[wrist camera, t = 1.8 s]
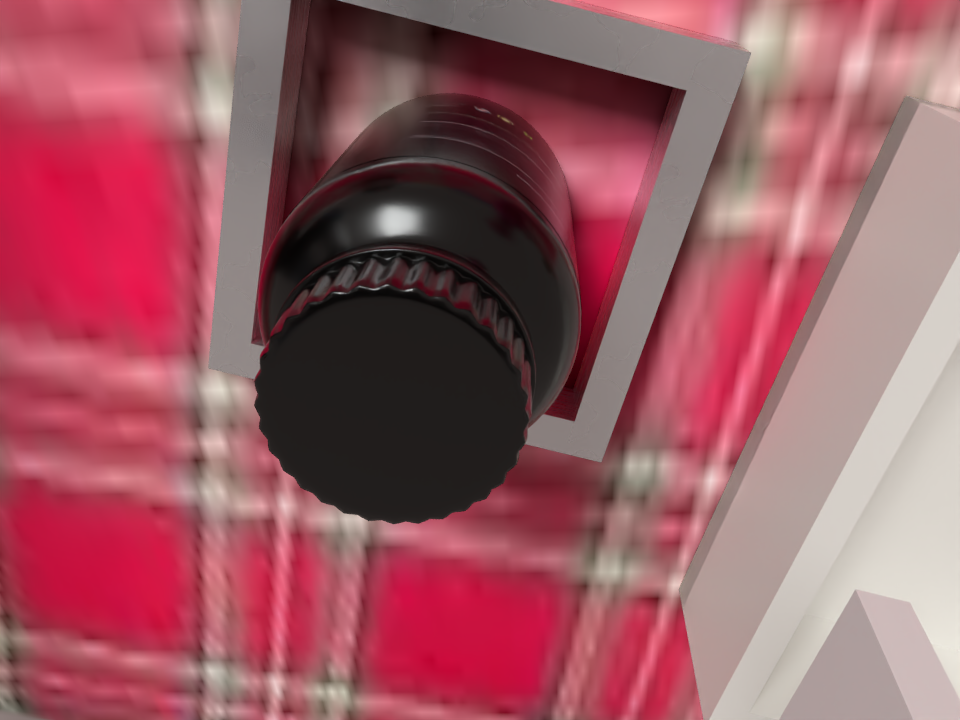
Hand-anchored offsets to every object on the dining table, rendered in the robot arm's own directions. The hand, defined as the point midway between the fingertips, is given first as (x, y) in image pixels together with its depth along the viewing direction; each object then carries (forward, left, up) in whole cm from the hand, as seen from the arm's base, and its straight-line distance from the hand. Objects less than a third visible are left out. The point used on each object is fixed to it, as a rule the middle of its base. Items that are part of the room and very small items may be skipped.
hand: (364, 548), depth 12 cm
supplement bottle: (0, 0, -15) cm, 15 cm away
